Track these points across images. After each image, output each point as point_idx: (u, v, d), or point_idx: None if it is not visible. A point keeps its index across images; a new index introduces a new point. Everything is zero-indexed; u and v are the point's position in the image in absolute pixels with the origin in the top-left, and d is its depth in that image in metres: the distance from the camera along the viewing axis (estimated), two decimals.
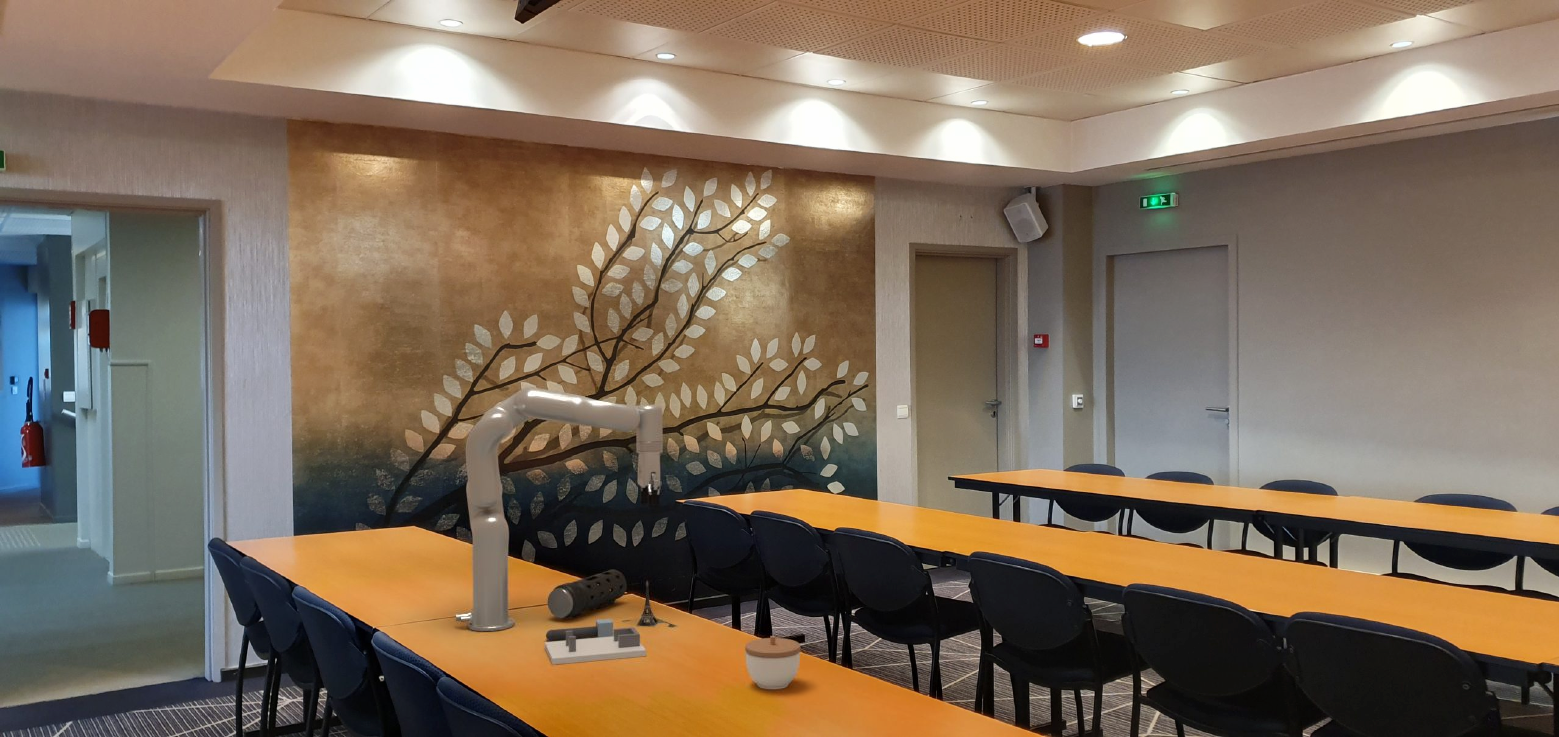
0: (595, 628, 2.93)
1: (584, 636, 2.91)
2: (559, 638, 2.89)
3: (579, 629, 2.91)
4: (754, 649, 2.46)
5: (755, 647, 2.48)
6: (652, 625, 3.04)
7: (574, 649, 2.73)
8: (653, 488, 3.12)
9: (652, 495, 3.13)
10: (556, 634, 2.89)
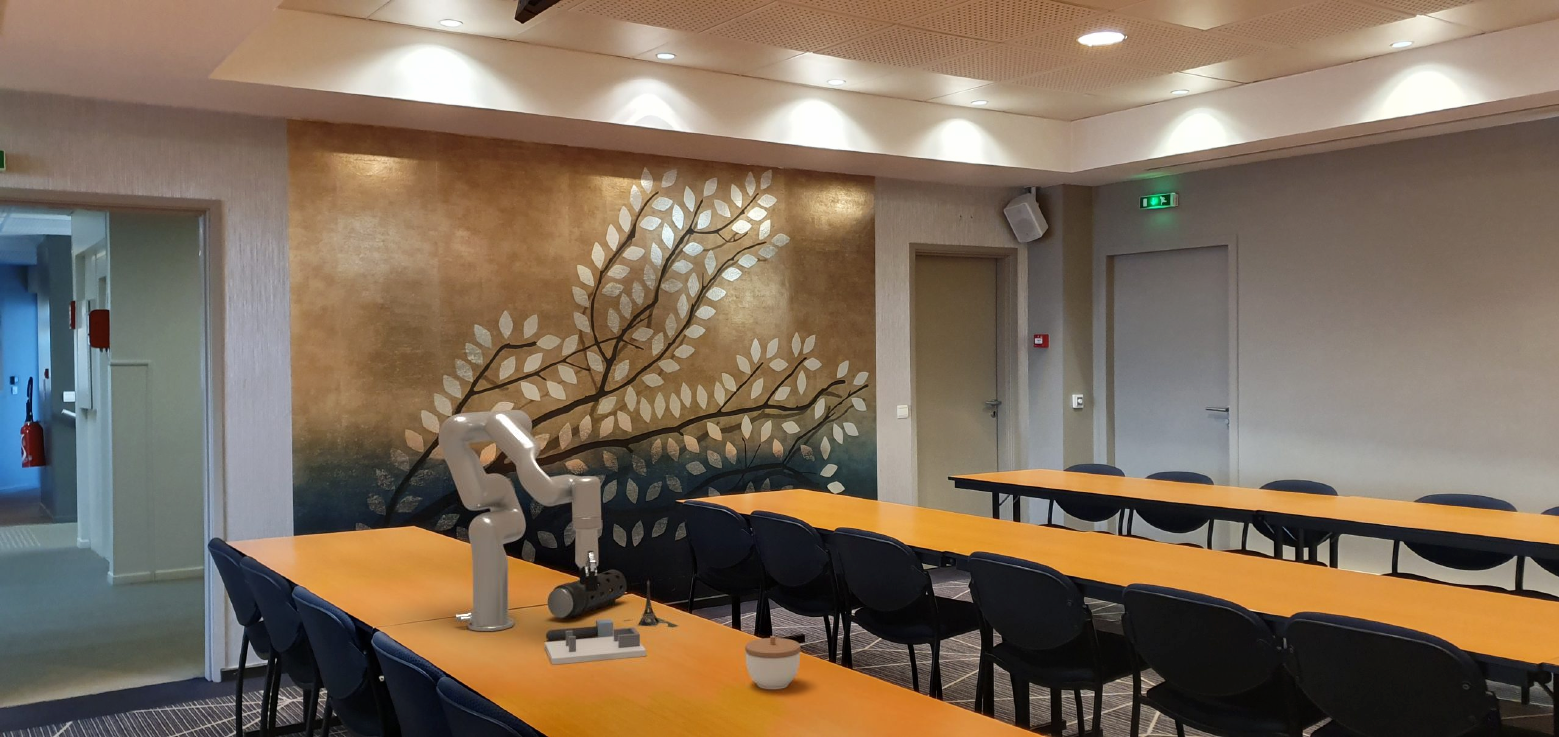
0: (595, 628, 2.93)
1: (584, 636, 2.91)
2: (559, 638, 2.89)
3: (579, 629, 2.91)
4: (754, 649, 2.46)
5: (755, 647, 2.48)
6: (653, 625, 3.05)
7: (574, 649, 2.73)
8: (590, 569, 2.85)
9: (589, 576, 2.87)
10: (556, 634, 2.89)
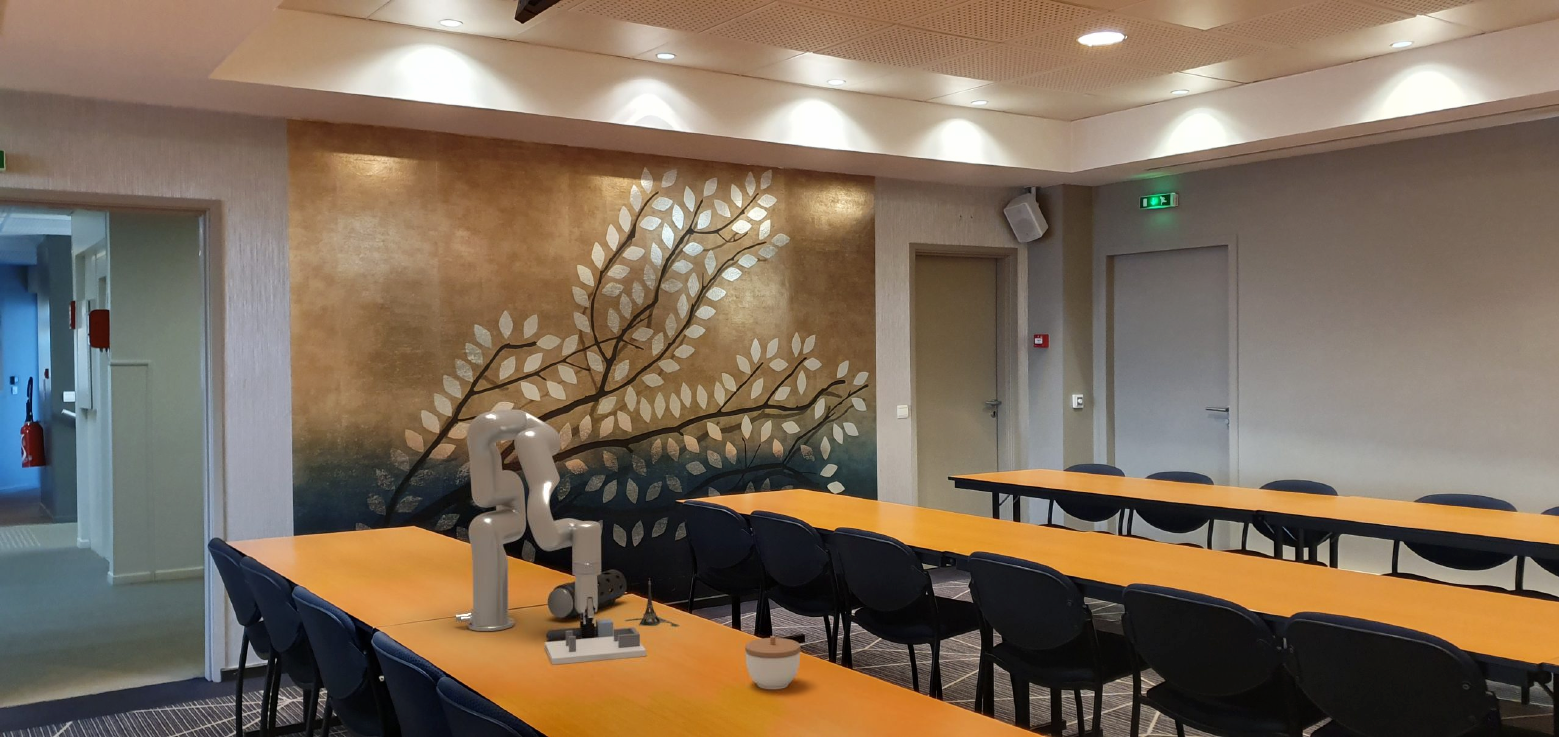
0: (595, 628, 2.93)
1: None
2: (559, 638, 2.89)
3: (579, 629, 2.91)
4: (754, 649, 2.46)
5: (755, 647, 2.48)
6: (654, 624, 3.05)
7: (574, 649, 2.73)
8: (587, 619, 2.88)
9: (586, 625, 2.90)
10: (556, 634, 2.89)
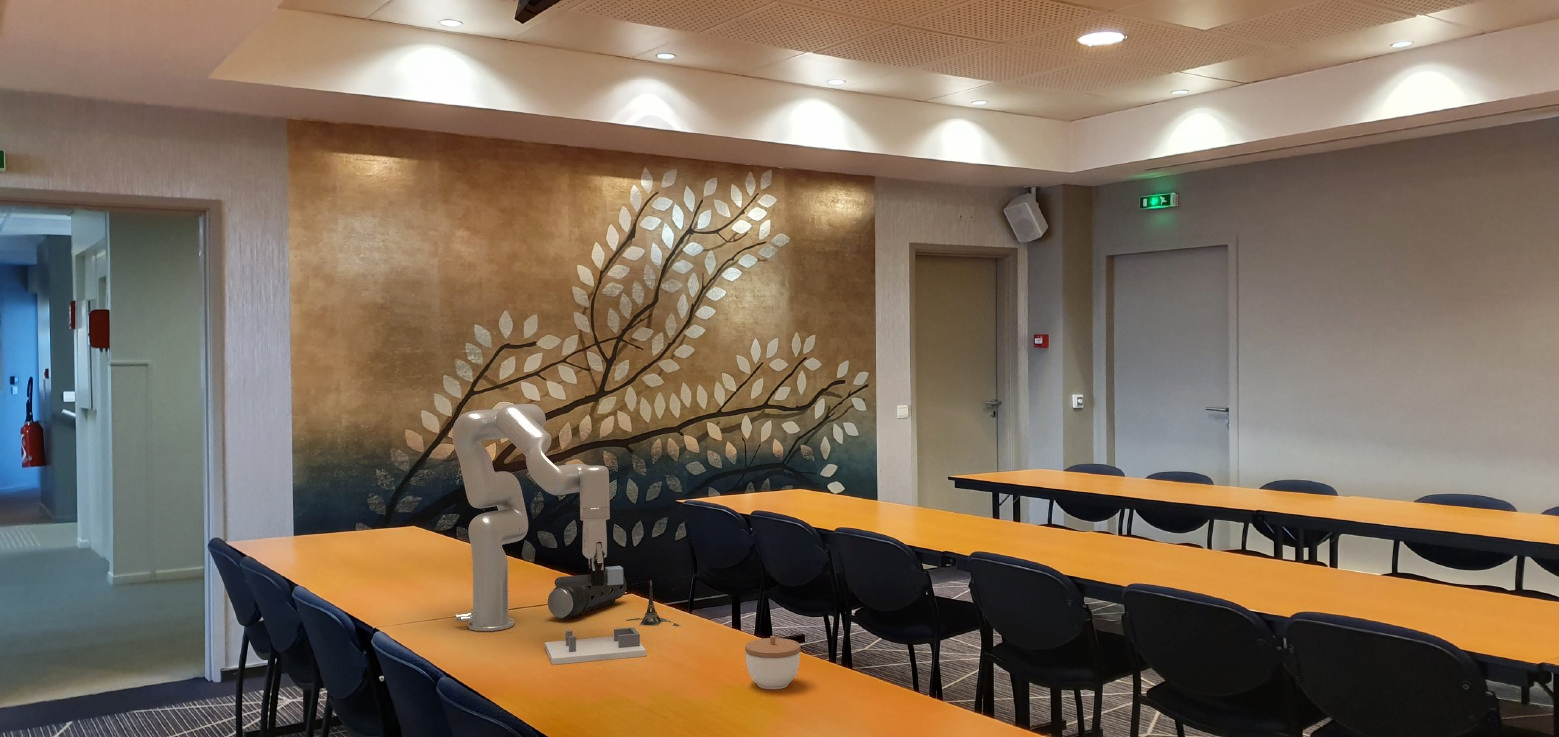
0: (605, 575, 2.86)
1: None
2: (568, 585, 2.82)
3: (588, 576, 2.84)
4: (754, 649, 2.46)
5: (755, 647, 2.48)
6: (655, 624, 3.05)
7: (574, 649, 2.73)
8: (596, 565, 2.81)
9: (596, 571, 2.83)
10: (565, 581, 2.82)
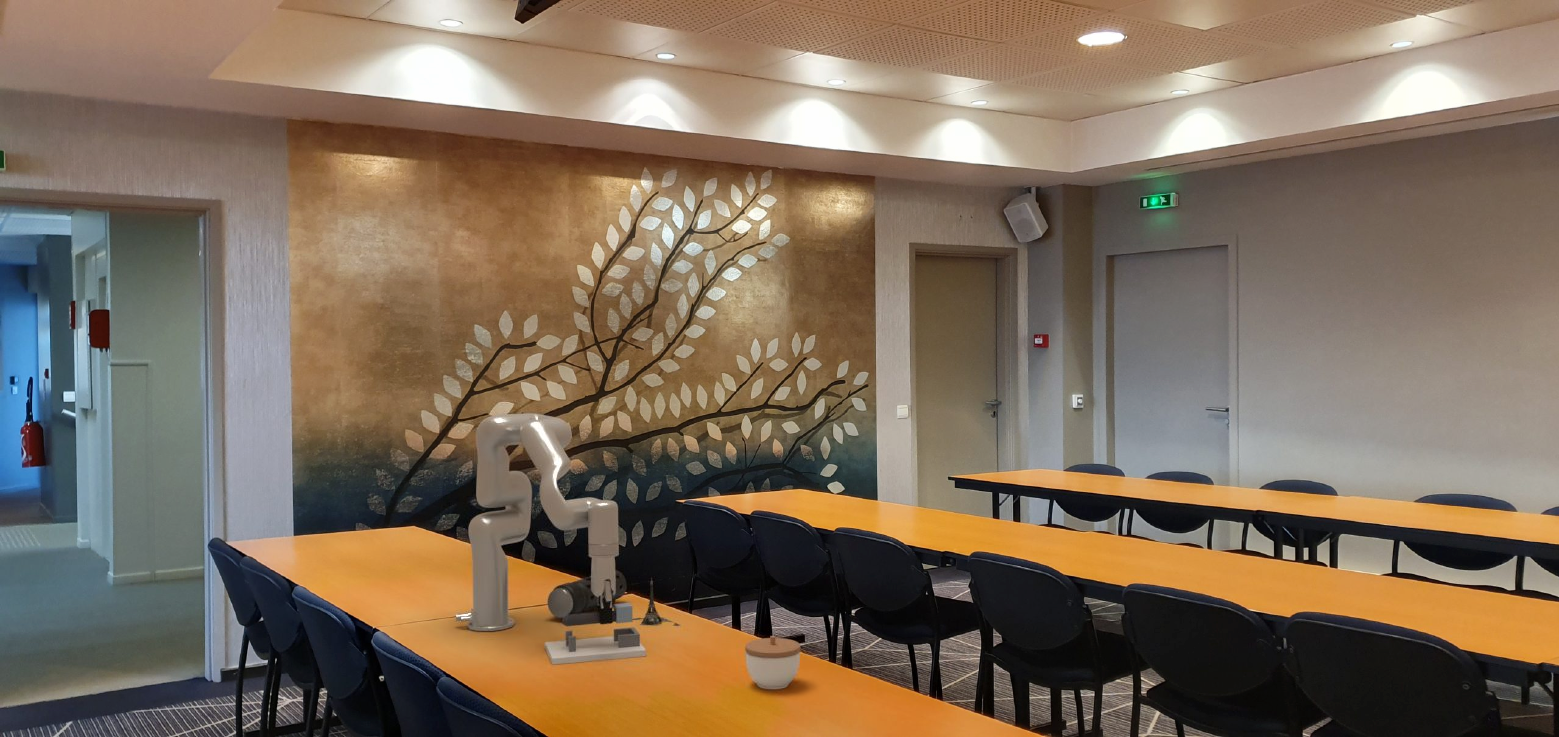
0: (613, 612, 2.79)
1: None
2: (576, 623, 2.75)
3: (597, 614, 2.77)
4: (754, 649, 2.46)
5: (755, 647, 2.48)
6: (656, 624, 3.06)
7: (574, 649, 2.73)
8: (605, 603, 2.75)
9: (604, 609, 2.76)
10: (573, 619, 2.75)
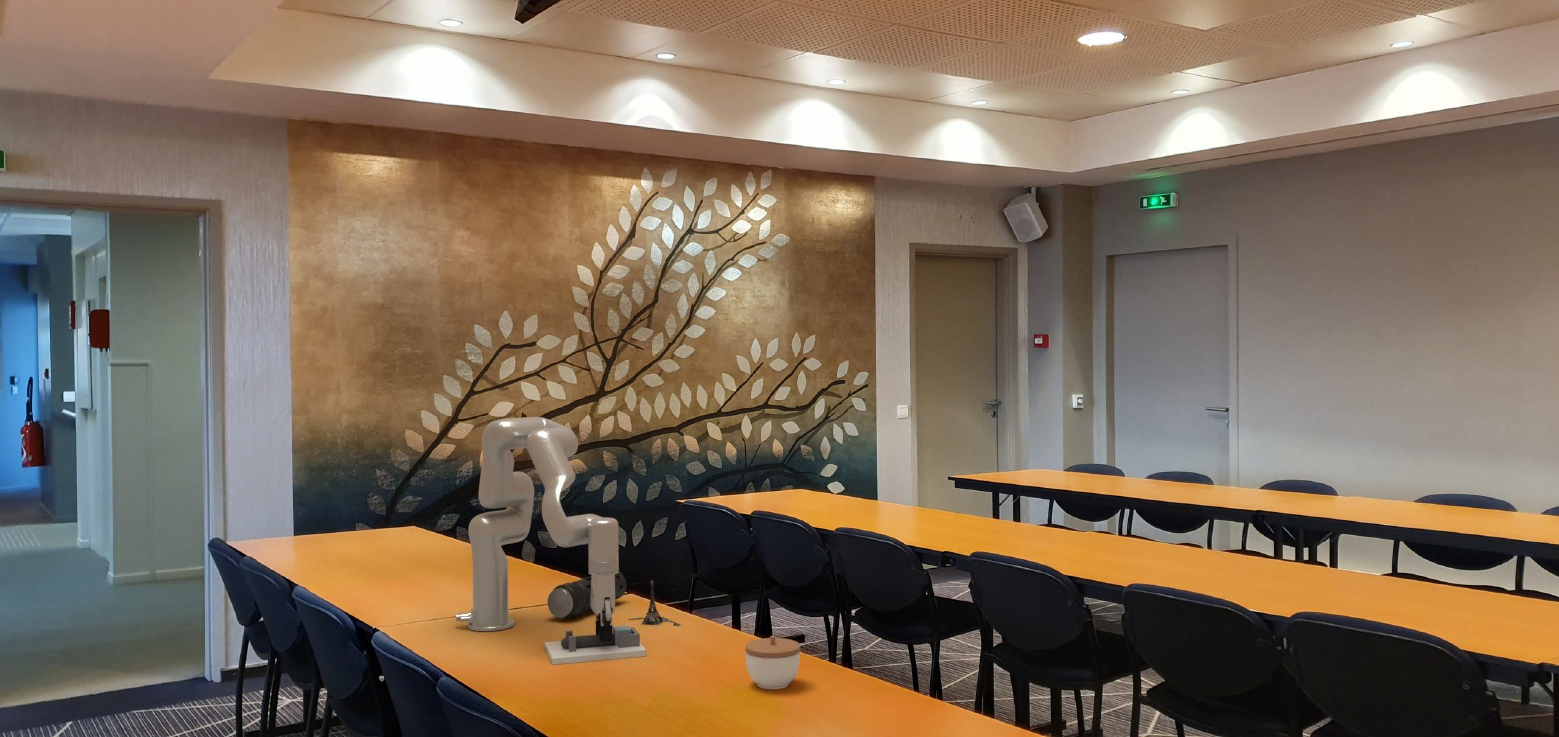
0: None
1: (601, 644, 2.78)
2: None
3: (596, 636, 2.78)
4: (754, 649, 2.46)
5: (755, 647, 2.48)
6: (657, 624, 3.06)
7: (574, 649, 2.73)
8: (605, 620, 2.73)
9: (604, 626, 2.75)
10: None
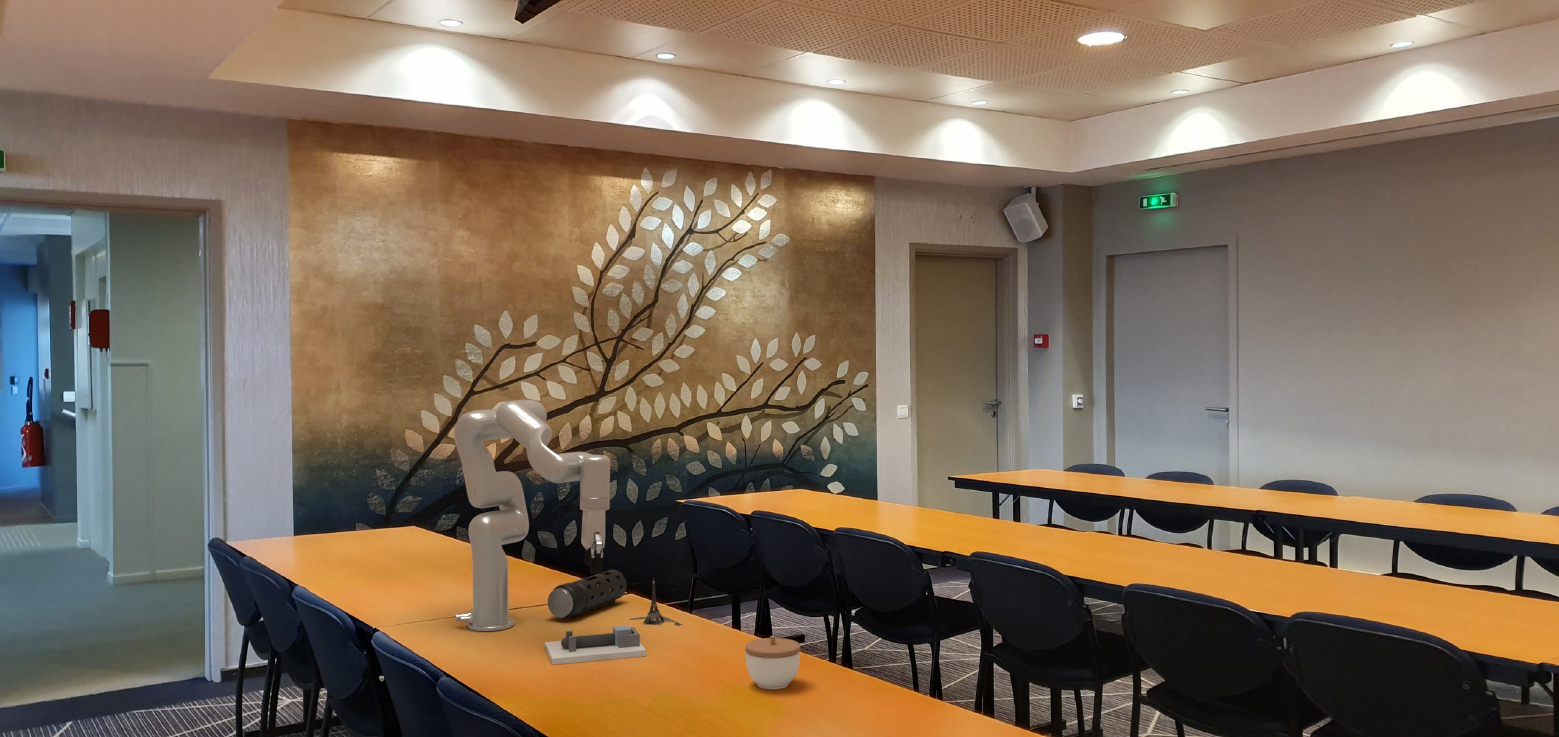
0: (612, 635, 2.79)
1: (601, 644, 2.78)
2: None
3: (596, 636, 2.78)
4: (754, 649, 2.46)
5: (755, 647, 2.48)
6: (658, 623, 3.06)
7: (574, 649, 2.73)
8: (596, 551, 2.76)
9: (595, 558, 2.78)
10: None
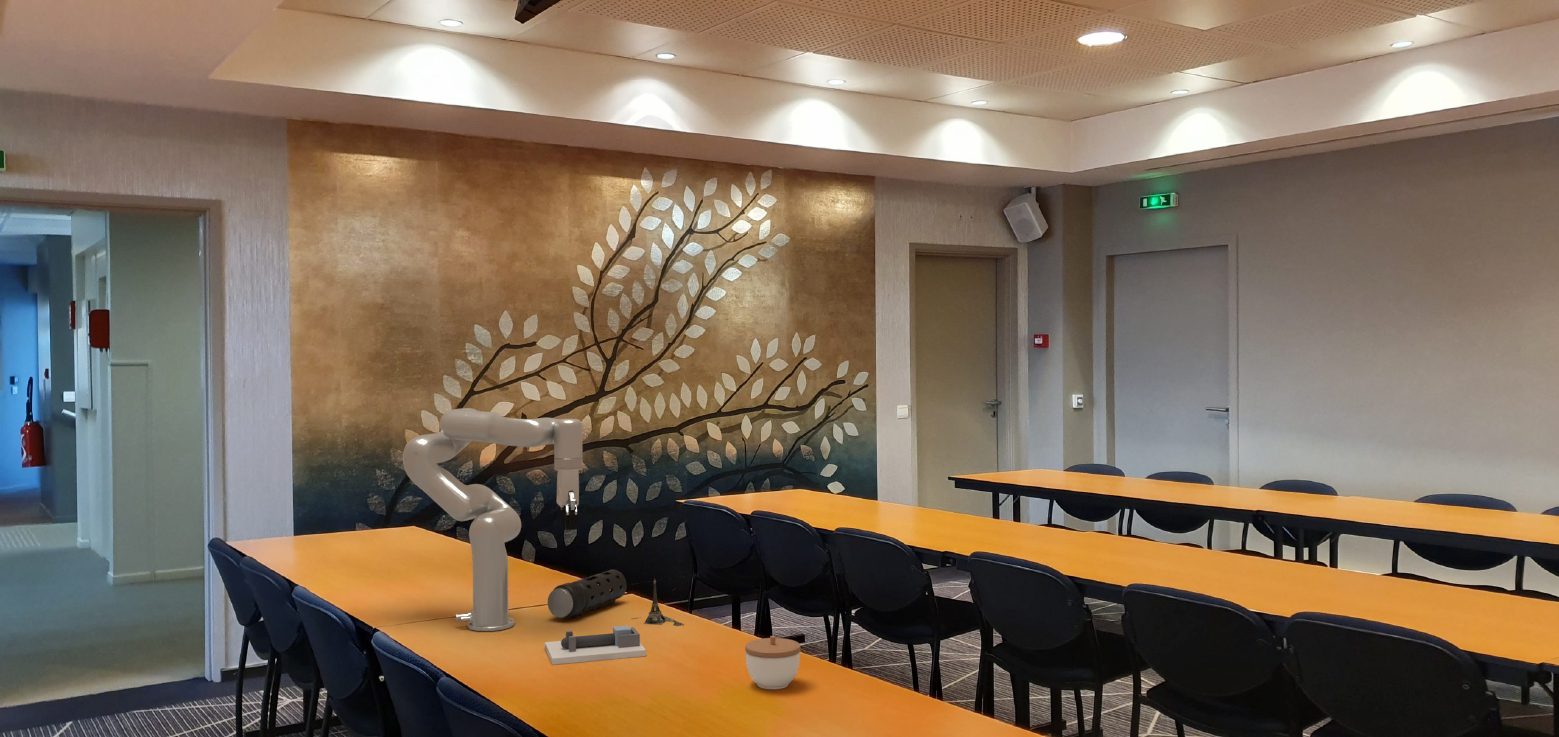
0: (612, 635, 2.79)
1: (601, 644, 2.78)
2: None
3: (596, 636, 2.78)
4: (754, 649, 2.46)
5: (755, 647, 2.48)
6: (659, 623, 3.06)
7: (574, 649, 2.73)
8: (570, 508, 2.92)
9: (569, 515, 2.94)
10: None
